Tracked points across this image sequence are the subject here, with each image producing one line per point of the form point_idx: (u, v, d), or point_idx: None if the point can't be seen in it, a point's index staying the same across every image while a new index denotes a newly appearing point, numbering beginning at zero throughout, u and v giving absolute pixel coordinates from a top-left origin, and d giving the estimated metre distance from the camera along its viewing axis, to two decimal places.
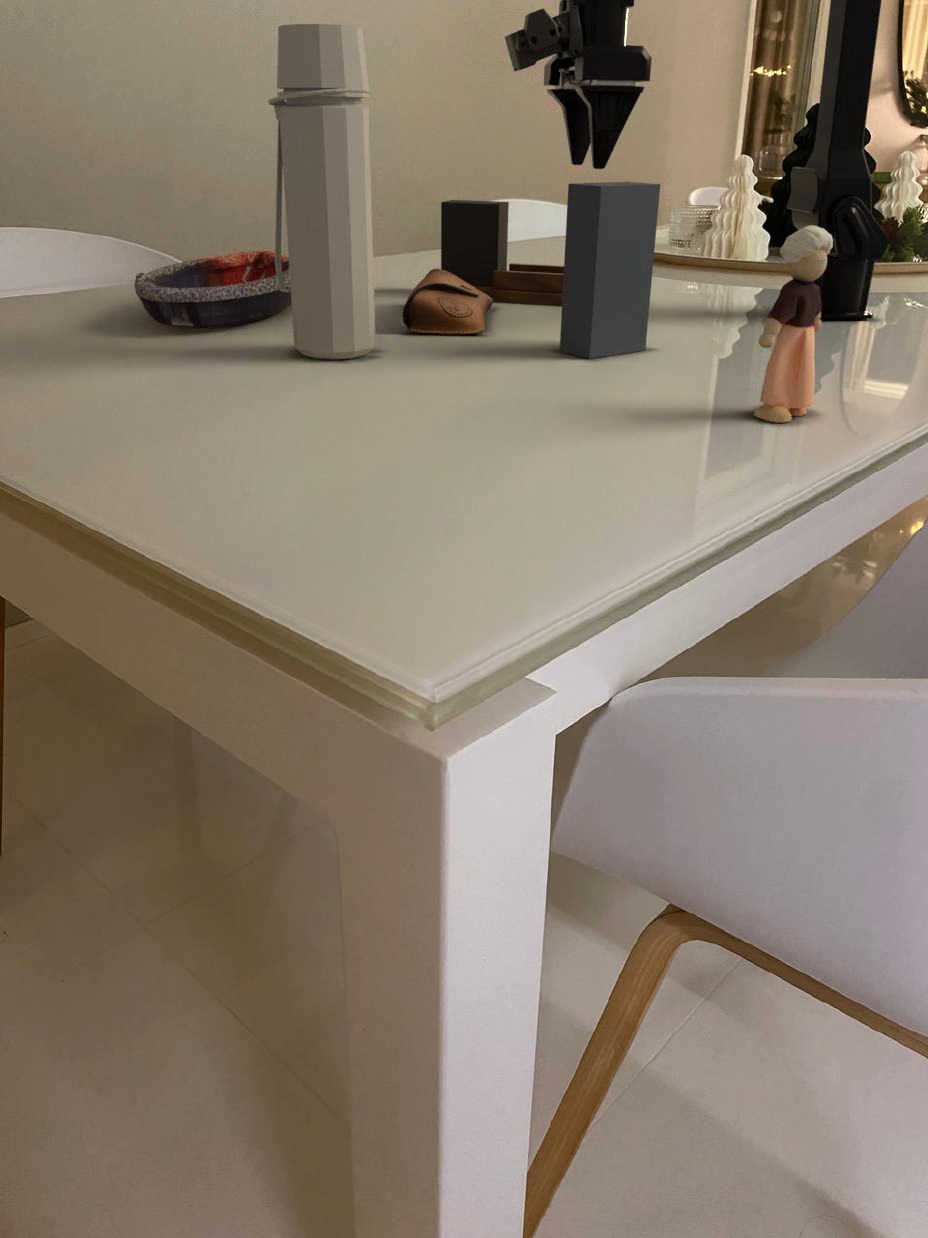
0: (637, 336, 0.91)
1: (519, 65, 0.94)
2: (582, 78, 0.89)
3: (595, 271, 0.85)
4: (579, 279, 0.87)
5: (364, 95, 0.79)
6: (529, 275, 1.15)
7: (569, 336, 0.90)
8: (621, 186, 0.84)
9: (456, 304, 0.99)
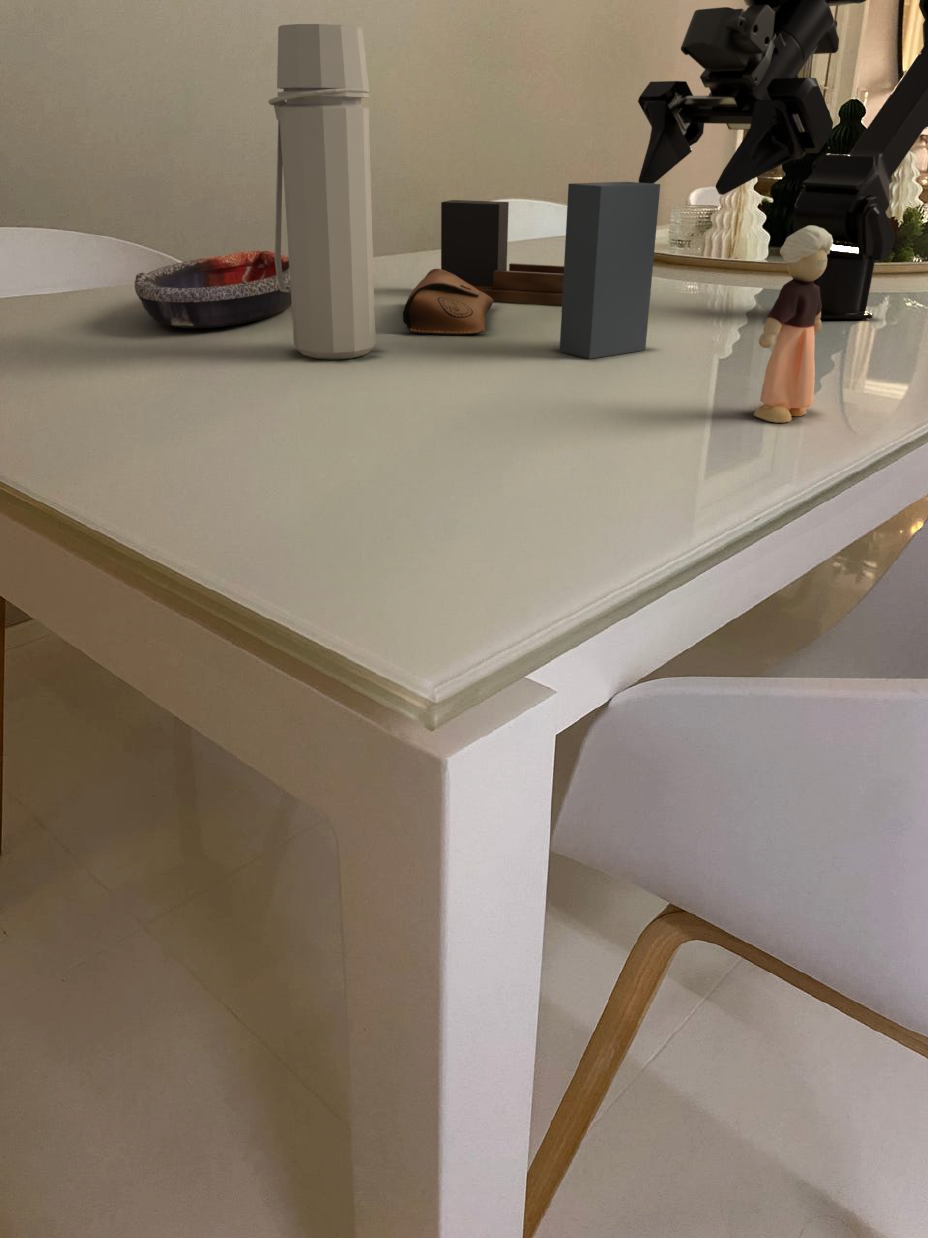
0: (637, 336, 0.91)
1: (715, 40, 0.84)
2: (794, 94, 0.82)
3: (595, 271, 0.85)
4: (579, 279, 0.87)
5: (364, 95, 0.79)
6: (529, 275, 1.15)
7: (569, 336, 0.90)
8: (621, 186, 0.84)
9: (456, 304, 0.99)
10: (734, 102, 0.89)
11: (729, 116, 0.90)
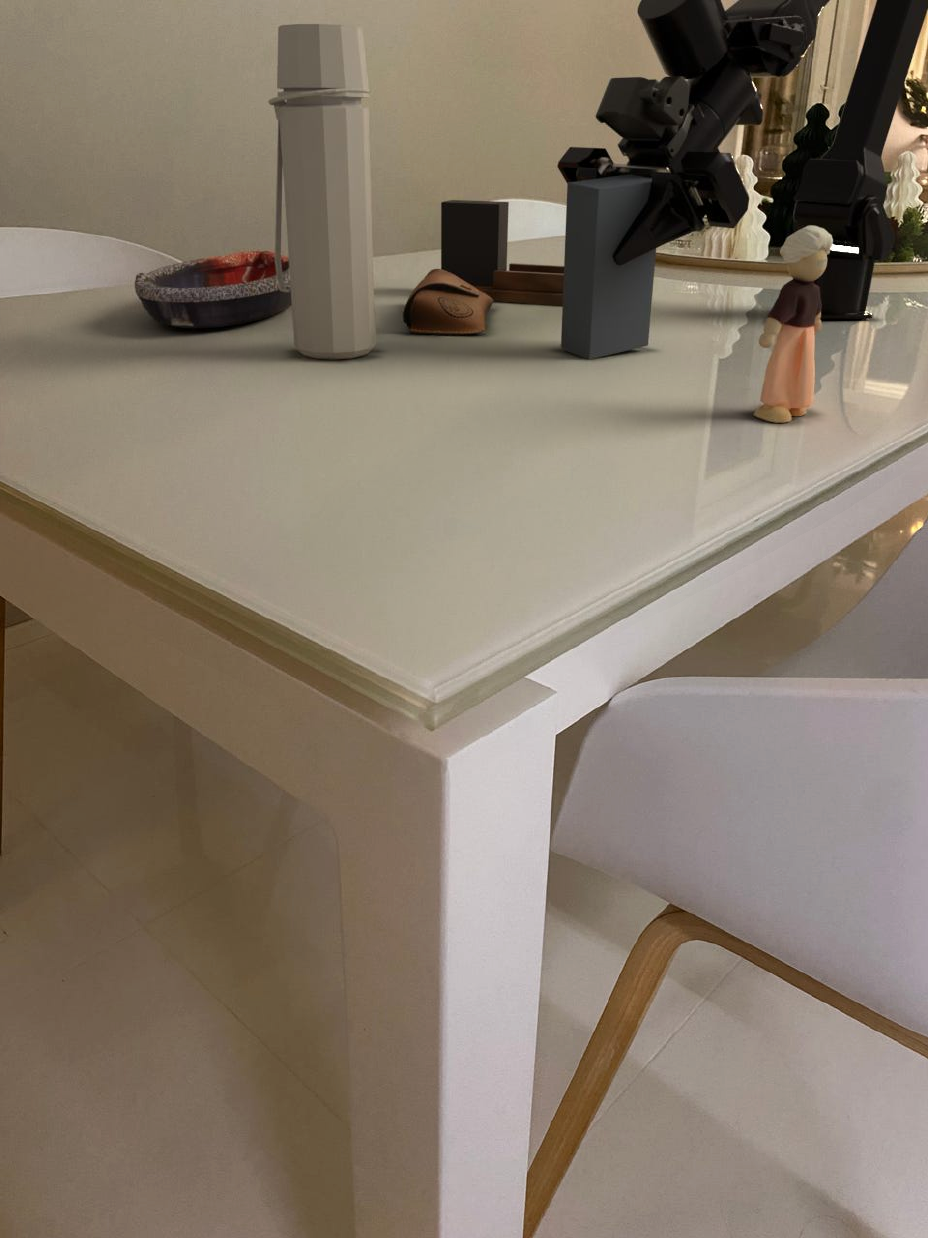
0: (639, 332, 0.90)
1: (628, 110, 0.81)
2: (706, 169, 0.79)
3: (593, 274, 0.85)
4: (579, 280, 0.86)
5: (364, 95, 0.79)
6: (529, 275, 1.15)
7: (570, 335, 0.90)
8: (620, 186, 0.82)
9: (457, 304, 0.99)
10: None
11: None
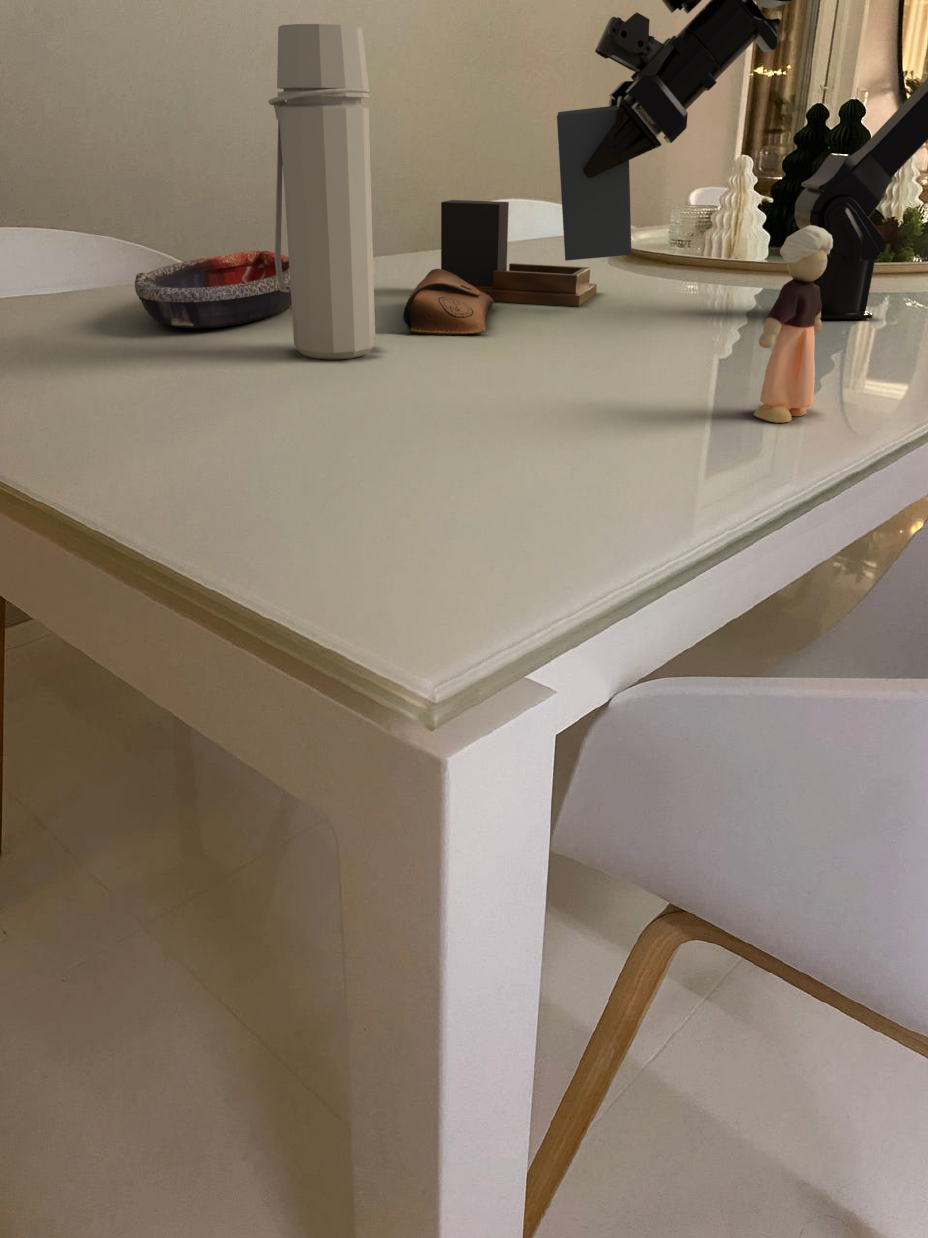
0: (619, 242, 1.06)
1: (600, 45, 0.98)
2: (629, 90, 0.94)
3: (561, 187, 1.04)
4: None
5: (364, 95, 0.79)
6: (529, 275, 1.15)
7: None
8: (580, 113, 1.00)
9: (457, 304, 0.99)
10: None
11: None
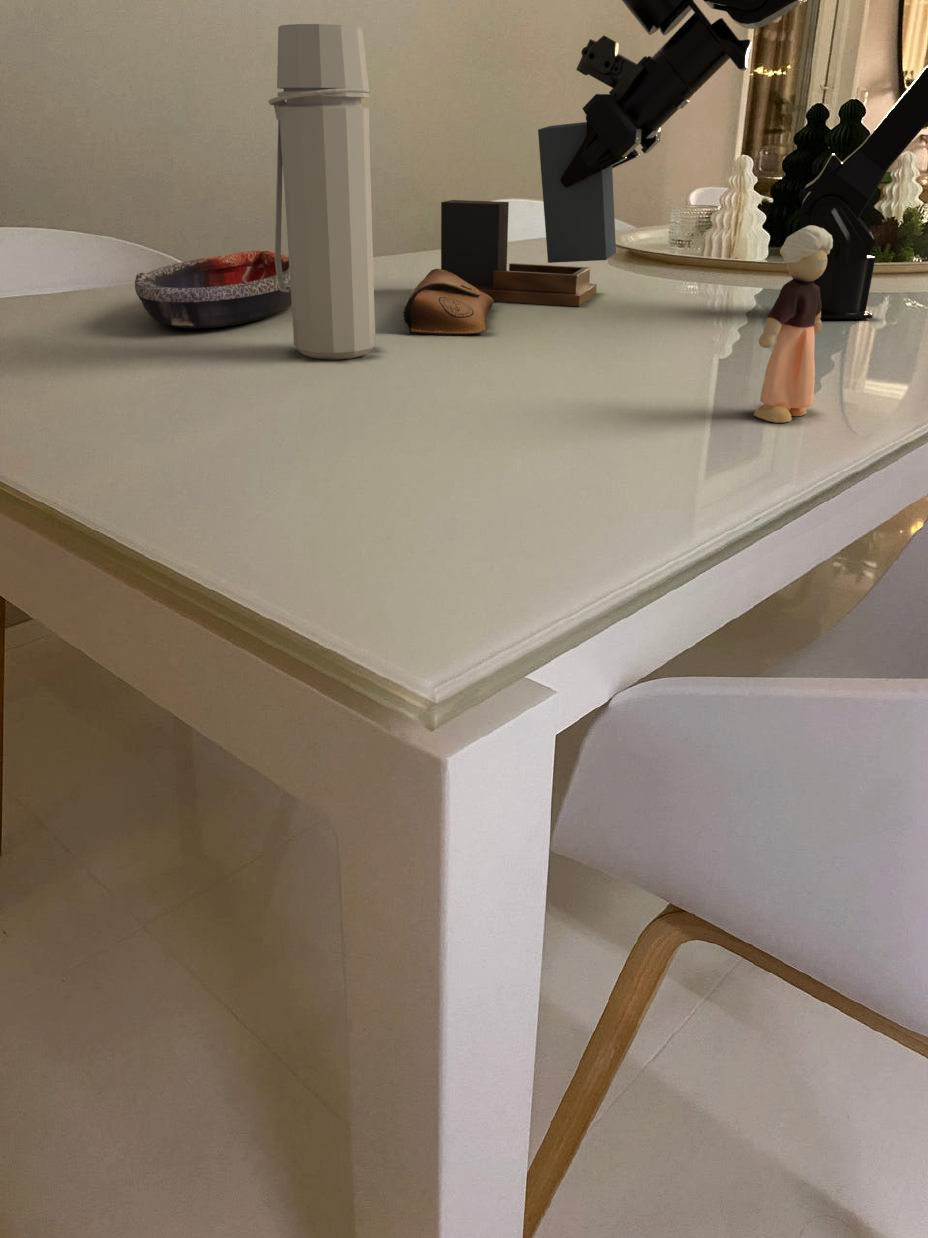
0: (595, 247, 1.13)
1: None
2: (583, 107, 1.01)
3: None
4: None
5: (364, 95, 0.79)
6: (529, 275, 1.15)
7: None
8: (558, 128, 1.09)
9: (457, 304, 0.99)
10: None
11: None
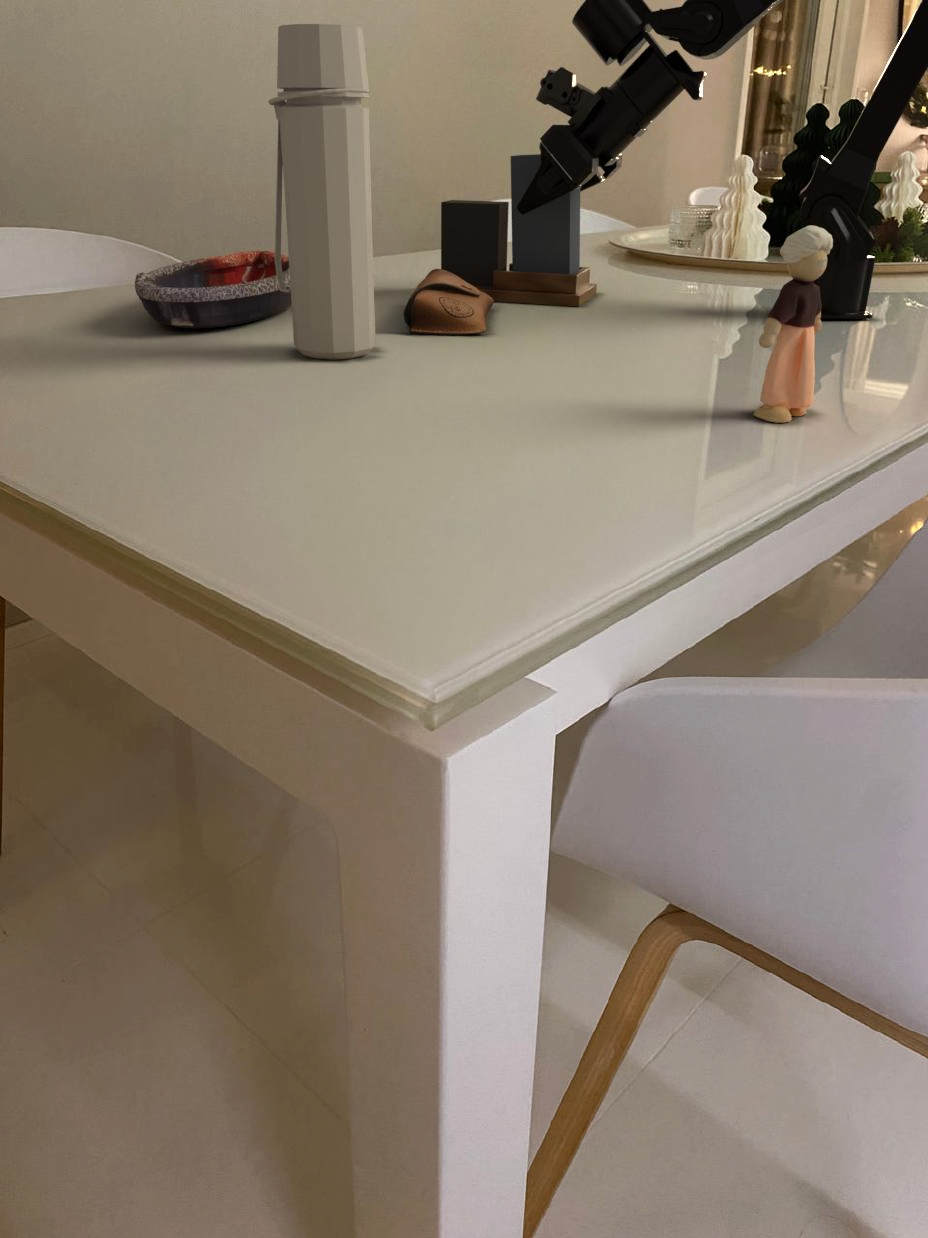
0: None
1: (537, 95, 1.09)
2: None
3: None
4: None
5: (364, 95, 0.79)
6: (529, 275, 1.15)
7: None
8: (530, 155, 1.12)
9: (458, 304, 0.99)
10: None
11: None
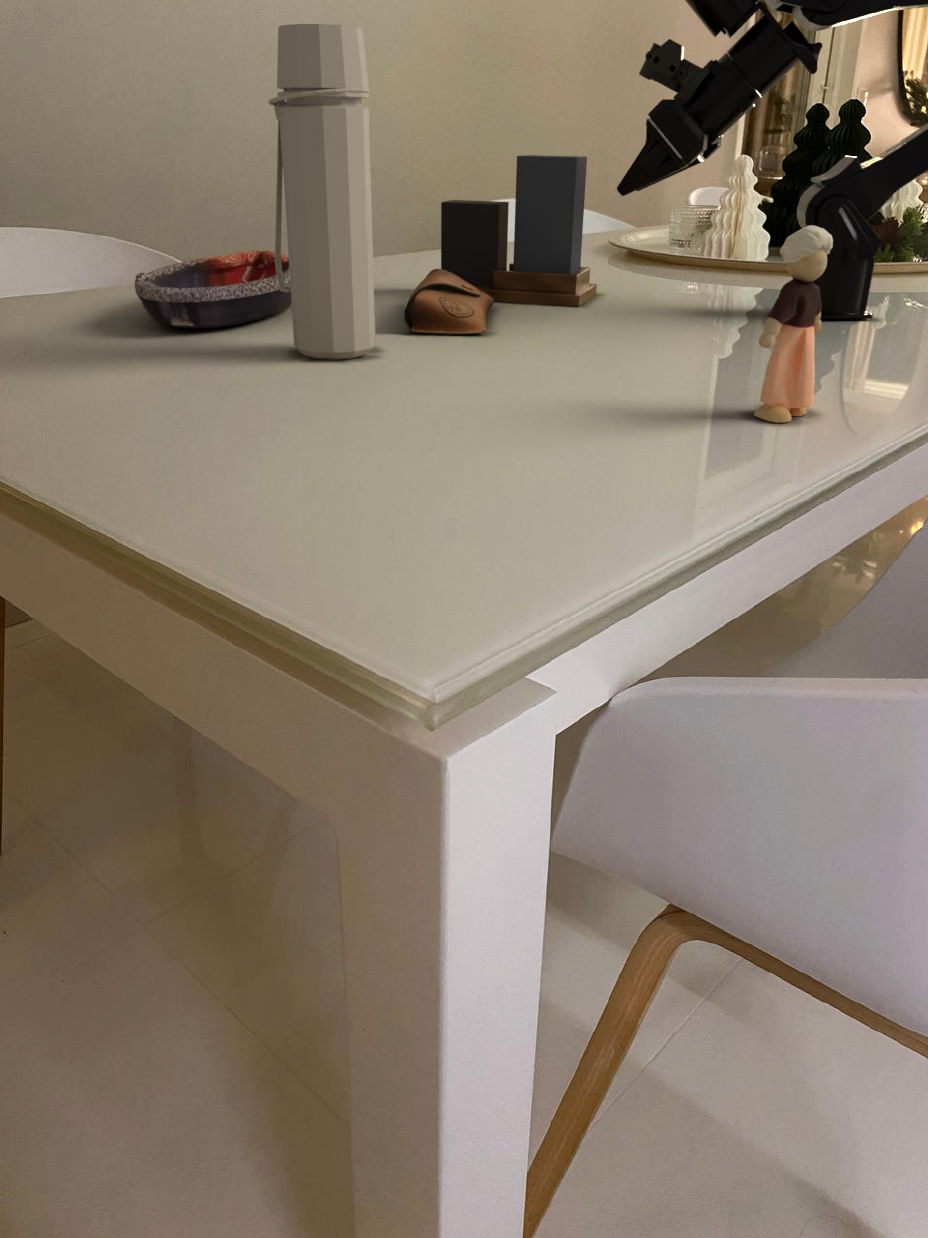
0: None
1: (640, 70, 1.03)
2: None
3: None
4: None
5: (364, 95, 0.79)
6: (529, 275, 1.15)
7: None
8: (536, 157, 1.12)
9: (458, 304, 0.99)
10: None
11: None
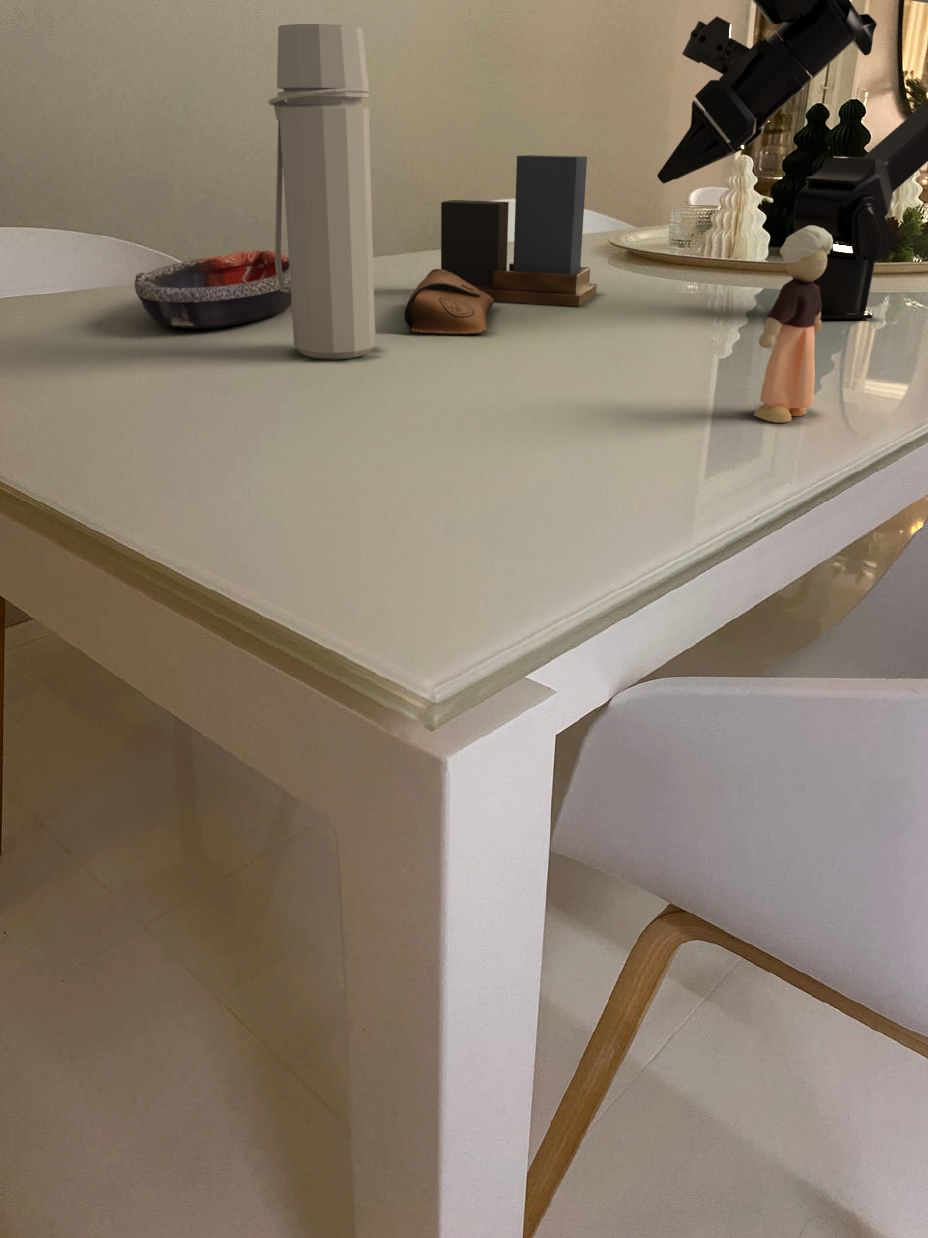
0: None
1: (684, 50, 0.98)
2: (695, 95, 0.93)
3: None
4: None
5: (364, 95, 0.79)
6: (529, 275, 1.15)
7: None
8: (536, 157, 1.12)
9: (458, 304, 0.99)
10: None
11: None
